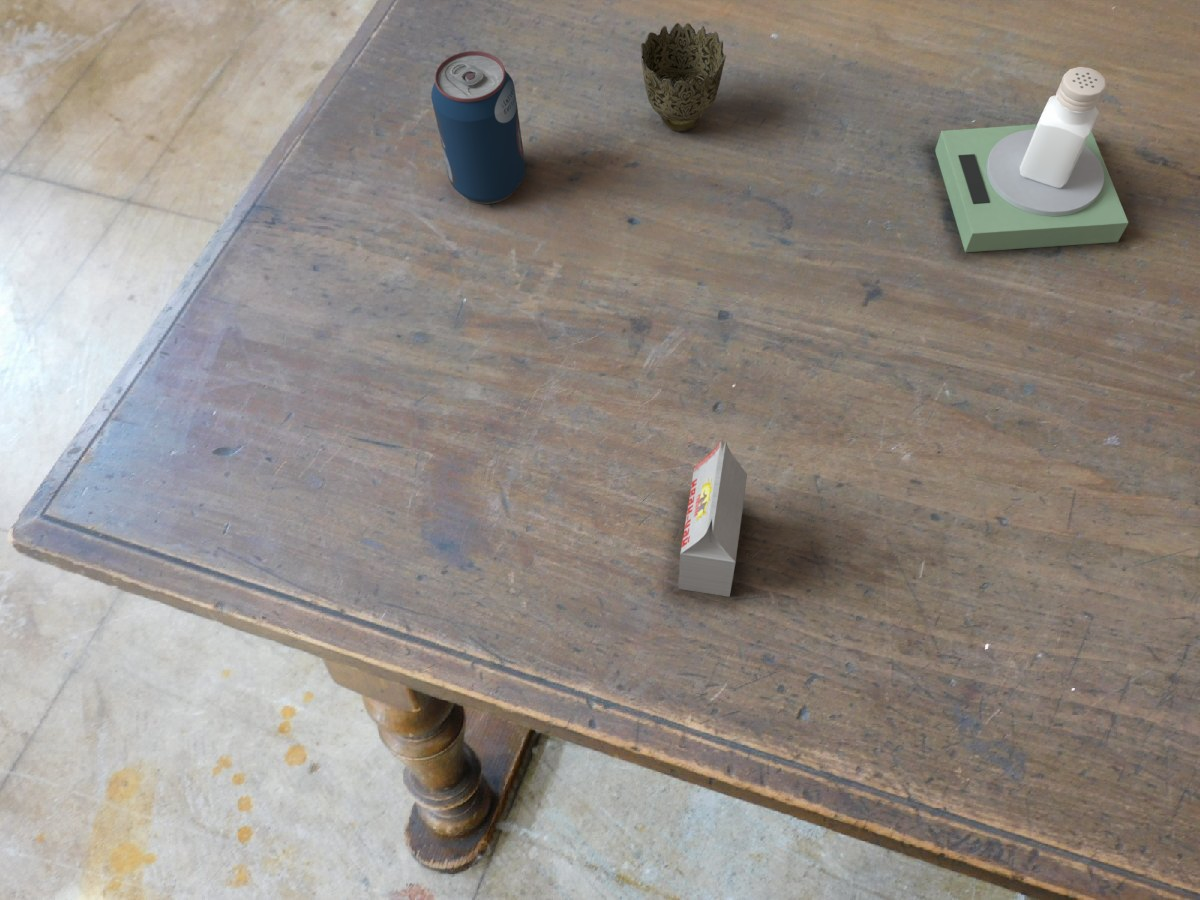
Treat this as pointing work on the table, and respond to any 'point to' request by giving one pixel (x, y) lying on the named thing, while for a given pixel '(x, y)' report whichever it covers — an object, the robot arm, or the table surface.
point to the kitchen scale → (1024, 193)
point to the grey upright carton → (712, 524)
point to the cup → (682, 73)
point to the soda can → (479, 126)
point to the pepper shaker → (1064, 128)
